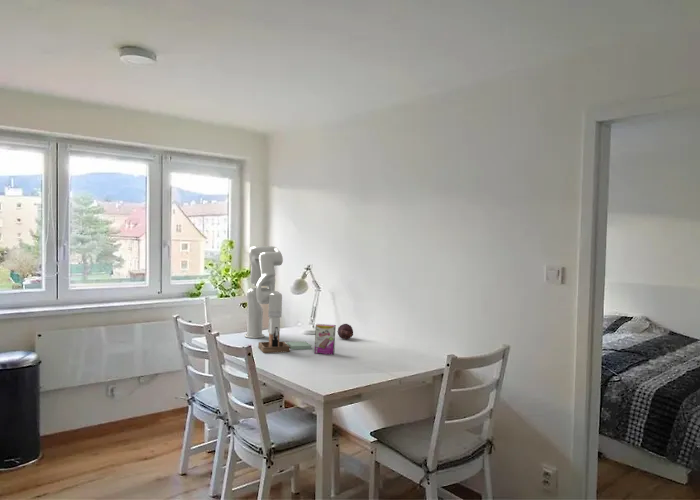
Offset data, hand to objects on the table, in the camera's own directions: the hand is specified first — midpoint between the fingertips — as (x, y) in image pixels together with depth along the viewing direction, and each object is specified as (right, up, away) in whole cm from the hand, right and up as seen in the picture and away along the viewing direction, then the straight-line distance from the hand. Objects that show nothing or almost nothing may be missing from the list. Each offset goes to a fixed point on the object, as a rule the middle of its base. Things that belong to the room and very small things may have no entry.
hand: (273, 345), depth 302 cm
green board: (+13, -3, +9) cm, 17 cm away
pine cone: (+41, -3, +40) cm, 57 cm away
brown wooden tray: (0, -2, 0) cm, 2 cm away
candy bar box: (+29, -4, -5) cm, 30 cm away
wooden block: (0, -3, 0) cm, 3 cm away
